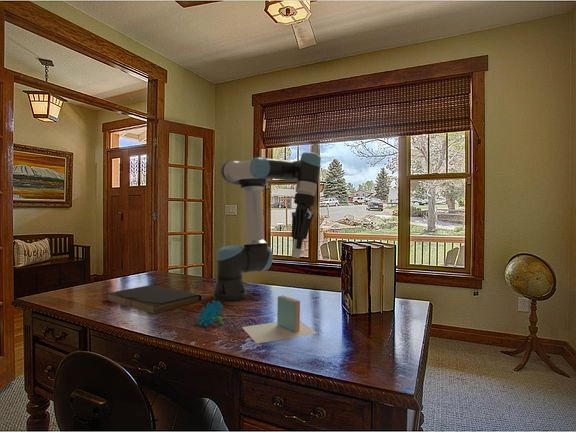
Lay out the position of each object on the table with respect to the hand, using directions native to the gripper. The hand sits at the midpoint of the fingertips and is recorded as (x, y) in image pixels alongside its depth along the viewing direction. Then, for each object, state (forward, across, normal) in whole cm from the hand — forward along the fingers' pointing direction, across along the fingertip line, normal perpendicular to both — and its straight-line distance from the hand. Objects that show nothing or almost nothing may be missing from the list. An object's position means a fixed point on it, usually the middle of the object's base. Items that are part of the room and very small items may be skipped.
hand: (295, 257), depth 120 cm
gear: (+28, +7, +25) cm, 38 cm away
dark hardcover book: (+31, +47, +41) cm, 70 cm away
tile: (+23, -8, +3) cm, 25 cm away
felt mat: (+24, -9, +6) cm, 27 cm away
